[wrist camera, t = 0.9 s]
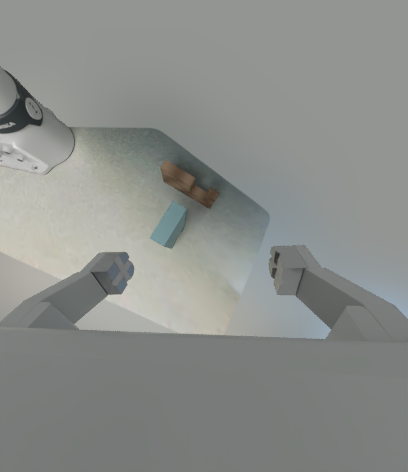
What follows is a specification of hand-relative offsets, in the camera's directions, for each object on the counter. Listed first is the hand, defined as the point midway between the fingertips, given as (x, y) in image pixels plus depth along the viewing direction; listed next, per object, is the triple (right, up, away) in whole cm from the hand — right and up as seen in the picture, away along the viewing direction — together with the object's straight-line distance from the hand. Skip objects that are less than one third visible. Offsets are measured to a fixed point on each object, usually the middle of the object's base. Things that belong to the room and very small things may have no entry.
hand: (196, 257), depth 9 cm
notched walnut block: (-4, +15, +39) cm, 42 cm away
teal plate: (-8, +1, +38) cm, 38 cm away
